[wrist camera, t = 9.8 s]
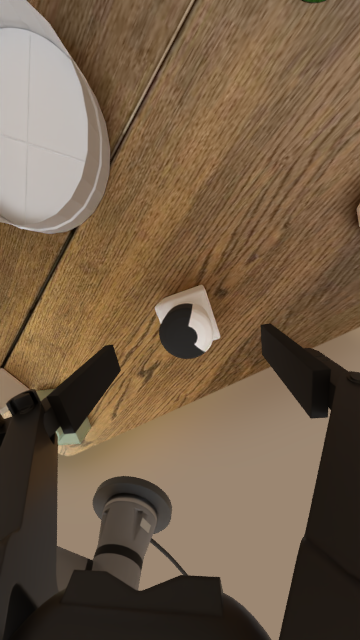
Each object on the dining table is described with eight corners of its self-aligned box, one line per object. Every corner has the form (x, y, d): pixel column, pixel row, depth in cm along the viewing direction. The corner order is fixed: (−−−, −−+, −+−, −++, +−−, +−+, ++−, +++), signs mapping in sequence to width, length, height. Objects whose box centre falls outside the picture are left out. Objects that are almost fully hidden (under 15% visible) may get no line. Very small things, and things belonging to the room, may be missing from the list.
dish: (-45, 15, 22) (-113, -57, 17) (124, 71, 22) (104, 16, 17) (-33, 210, 28) (-79, 198, 23) (97, 252, 28) (77, 249, 24)
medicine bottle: (177, 335, 31) (166, 373, 20) (162, 298, 30) (142, 316, 18) (215, 323, 30) (227, 356, 19) (202, 283, 28) (207, 294, 17)
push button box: (91, 427, 39) (73, 453, 34) (56, 429, 41) (33, 455, 35) (75, 386, 37) (53, 408, 31) (38, 390, 38) (10, 412, 32)
